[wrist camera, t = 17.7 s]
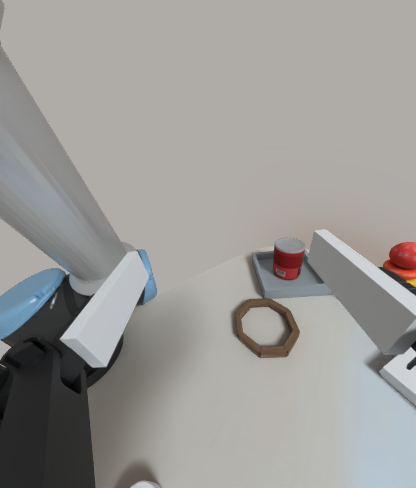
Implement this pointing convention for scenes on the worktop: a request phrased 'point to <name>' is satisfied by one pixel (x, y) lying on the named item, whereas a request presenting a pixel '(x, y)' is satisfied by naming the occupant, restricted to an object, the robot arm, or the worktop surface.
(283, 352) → the holder ring
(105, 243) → the robot arm
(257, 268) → the tray
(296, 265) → the canned food
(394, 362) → the white platform stand
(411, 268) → the stacking toy
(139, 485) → the white brass knuckles
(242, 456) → the worktop surface
